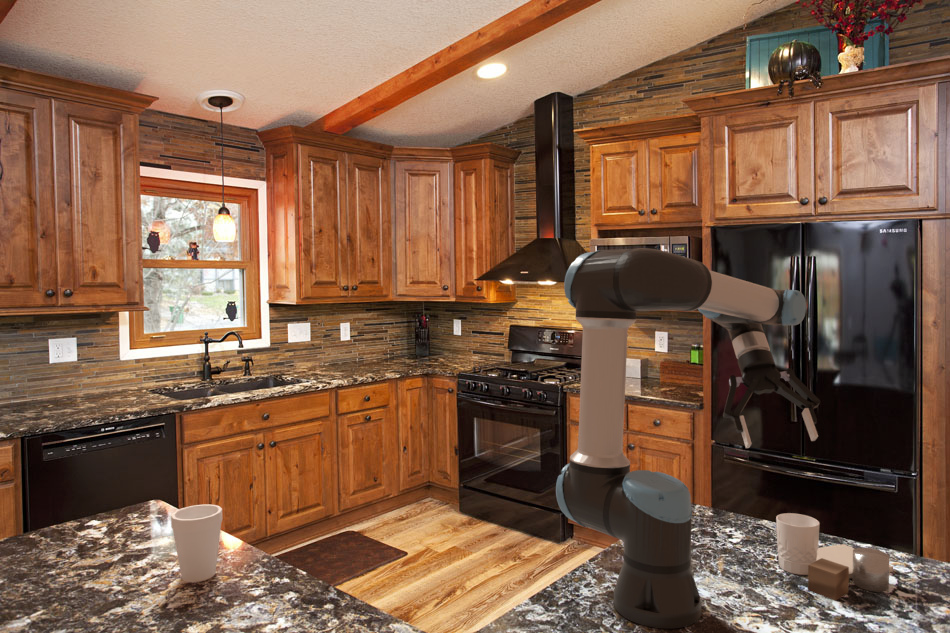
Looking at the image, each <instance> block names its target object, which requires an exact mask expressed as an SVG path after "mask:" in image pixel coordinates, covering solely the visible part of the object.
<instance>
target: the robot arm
mask: <svg viewBox="0 0 950 633" xmlns="http://www.w3.org/2000/svg"><path fill="white" fill-rule="evenodd" d="M563 284H564V287H563V289H564V295H565V298H566V299H567V302H568V303H569V305H570V306H572V307H573V308H574V309H575V317H574V318H575V320H576V322H578V323H579V324H580V325H581V327H582V341H581V342H582V343H581V367H580V389H579V390H580V391H579V414H578V434H577V436H578V439H577V449H576V450H575V451H574V452H573V453H572V454H571V455H569V463H567V464H565V465H564V467H562V469H561V470H560V473H561V474H559V475H558V476H557V479H556V485H555V495H556V501H557V504H558V507H559V509H560V511H561V512H562V513H563V514H564V516H565V517H566V518H567V519H569V520H570V521H572V522H575V523H576V524H578V525H580V526H581V527H583V528H589V529H590V530H593V531H594V530H595V531H597V532H599V533H602V534H604V535H608V536H609V537H613V538H615V539H618V540H620V541H622V542H623V562H622V565H621V568H620V571H619V574H618V577H617V580H616V584H615V586H614V589H613V606H614V609H615V610H616V611H617V612H618V614H620V616H622V617H623V618H625V619H627V620H628V621H630V622H633V623H636V624H638V625H641V626H644V627H645V626H646V627H650V628H655V629H671V630H673V629H681V628H684V627H688V626H692V625H693V624H695V623H697V622H698V621H699V619H700V618H701V616H702V599H701V596H700V593H699V590H698V586H697V583H696V581H695V577H694V573H693V572H692V516H693V507H692V499H691V498H692V497H691V491H690V490H689V488H688V486H687V485H686V484H685V483H684V482H683V481H682V480H680V479H678V478H677V477H674V476H672V475H670V474H667V473H664V472H660V471H651V470H648V469H646V470H645V469H638V470H632V471H631V461H630V459H629V458H628V457H627V456H626V455H625V454H624V451H623V448H624V426H625V425H624V423H625V404H626V403H625V402H626V400H625V399H626V397H625V396H626V378H627V377H626V376H627V375H626V374H627V356H628V354H627V353H628V331H629V328H631V326H632V325H633V324H635V322H637V312H654V311H667V310H668V311H669V310H671V311H673V310H674V311H676V310H677V311H682V312H692V311H693V312H694V311H696V310H698V312H699V313H700V314H702V315H703V316H704V317H705V318H706V319H709V320H711V321H712V322H714V323H716V324H718V325H720V327H722V328H724V329H726V330H727V331H728V335H729V339H730V340H731V344H732V347H733V350H734V354H735V357H736V359H737V365H738V368H739V370H740V374H741V376H735V375H734V374H733V375H730V376H729V380H728V386H729V387H728V388H729V391H728V394H727V398H726V402H725V405H724V408H723V409H724V410H723V413H722V417H723V419H731V421H732V422H733V425H734V428H735V431H736V433H737V434H741V436H742V439H743V443H744V446H745V449H749V448H751V446H752V444H753V443H752V441H751V440H752V439H751V437H750V434H749V430H748V426H747V423H746V420H745V416H744V415H741V414H742V412H743V411H744V409H745V407H746V405H747V403H748V402H749V400H750V398H751V397H752V395H753V393H754V394H756V395H762V394H773V392H774V393H775V394H778V395H780V396H782V397H783V398H785V399H786V400H788V401H789V402H791V403H793V404H794V405H796V406H797V407H798V408H800V409H801V410H802V412H801V416H802V418H803V421H804V425H805V427H806V431H807V433H808V436H809V438H810V441H811V442H815V441H816V440H817V439H818V437H819V435H818V434H819V433H818V431H817V428H816V426H815V425H816V424H817V422H818V419H817V416H816V413H815V410H814V409H817V408H818V407H819V405H820V404H821V400H820V398H818V397H817V396H816V395H815V394H814V392H813V391H811V390H810V389H809V388H808V387H807V386H806V385H805V384H804V383H803V382H802V381H801V380H800V378H798V377H797V376H796V374H795V372H794V370H793V369H792V367H791V368H790V367H789V368H787V369H786V370H784V371H779V370H778V369H777V366H776V362H775V360H774V357H773V354H772V352H771V348H770V345H769V342H768V339H767V337H766V334H765V331H764V328H763V325H768V326H770V325H773V326H784V327H786V326H797V325H799V324H801V323H802V322H803V320H804V318H805V316H806V312H807V301H806V298H805V296H804V294H803V293H802V292H801V291H799V290H796V289H795V290H794V289H789V288H785V289H776V288H771V287H767V286H764V285H760V284H758V283H753V282H751V281H748V280H747V281H746V280H743V279H740V278H736V277H734V276H730V275H727V274H722V273H721V272H718V271H717V272H716V271H713V270H710V268H709V267H708V266H707V265H706V264H704V263H703V262H701V261H699V260H695V259H694V258H689V257H686V256H682V255H679V254H677V253H676V254H675V253H672V252H669V251H664V250H661V249H656V248H655V249H654V248H648V247H639V248H638V247H637V248H623V249H602V250H601V249H600V250H599V249H598V250H596V251H590V252H585V253H581V254H580V255H579V256H577V257H576V258H575V260H574V261H572V262H571V264H570V265H569V267H568V269H567V270H566V273H565V276H564V282H563ZM781 379H783V380H784V381H785V382H787V383H788V384H789V385H790V386H791V387H792V388H793V389H794V390H792V389H791V388H789V387H788V386H786V383H784V382H782V381H781ZM740 384H742V385H744V386H745V387H746V388H747V389H746V390H745V393H743V396H742V398H741V399H740V400H739V403H738V404H737V406H736V408H735V409H734V410H732V406H733V402H734V400H735V399H734V398H735V394H736V390H737V388H738V387H739V386H740Z"/></svg>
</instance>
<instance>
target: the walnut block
mask: <svg viewBox="0 0 950 633" xmlns="http://www.w3.org/2000/svg"><path fill="white" fill-rule="evenodd" d="M849 580H850V579H849V567H847V566H844V565H841V564H838V563H835V562H832V561H829V560H826V559H823V558H821V559H819V560H817V561H815V562H813V563H811V564H809V565H808V575H807V581H808V582H807V591H808V592H811V593H814V594H817V595H820V596H822V597H825V598H827V599H831V600H833V601H835V602H836V601H837V600H839V599H840V598H842V597H844V596H845V595H847V594H849Z"/></svg>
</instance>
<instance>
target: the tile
mask: <svg viewBox="0 0 950 633" xmlns="http://www.w3.org/2000/svg"><path fill="white" fill-rule="evenodd" d="M853 549H855V548H854V547H851V546H849V545H847V544H846V543H844V544H843V543H842V544H837V545H830V546H824V547H823V546H822V547H818V550H817V559H816V561H817V560H819V559H821V558H823V559H826V560H829V561H832V562H835V563H838V564H841V565H844V566H847V567H849V580H850V579H852V573H853ZM893 572H894V566H892V565H891V564H889V573H893Z"/></svg>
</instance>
